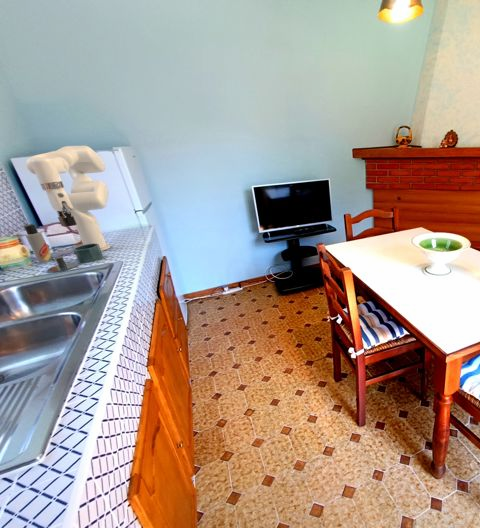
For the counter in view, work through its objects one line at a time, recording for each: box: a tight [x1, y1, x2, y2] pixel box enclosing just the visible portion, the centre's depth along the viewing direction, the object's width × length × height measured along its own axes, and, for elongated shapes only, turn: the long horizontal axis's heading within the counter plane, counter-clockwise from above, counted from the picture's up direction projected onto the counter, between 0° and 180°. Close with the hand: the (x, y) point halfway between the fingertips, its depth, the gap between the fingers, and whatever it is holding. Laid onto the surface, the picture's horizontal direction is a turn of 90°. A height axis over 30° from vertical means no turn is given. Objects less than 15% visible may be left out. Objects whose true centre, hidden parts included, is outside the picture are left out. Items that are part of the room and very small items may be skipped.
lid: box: [46, 256, 79, 274], centre depth 142 cm, size 11×11×6 cm
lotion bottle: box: [23, 223, 55, 264], centre depth 149 cm, size 6×6×20 cm
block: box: [57, 216, 77, 228], centre depth 144 cm, size 4×4×4 cm
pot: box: [72, 244, 105, 264], centre depth 151 cm, size 10×10×7 cm
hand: (69, 224), depth 145 cm, fingers closed on block, 4 cm apart
